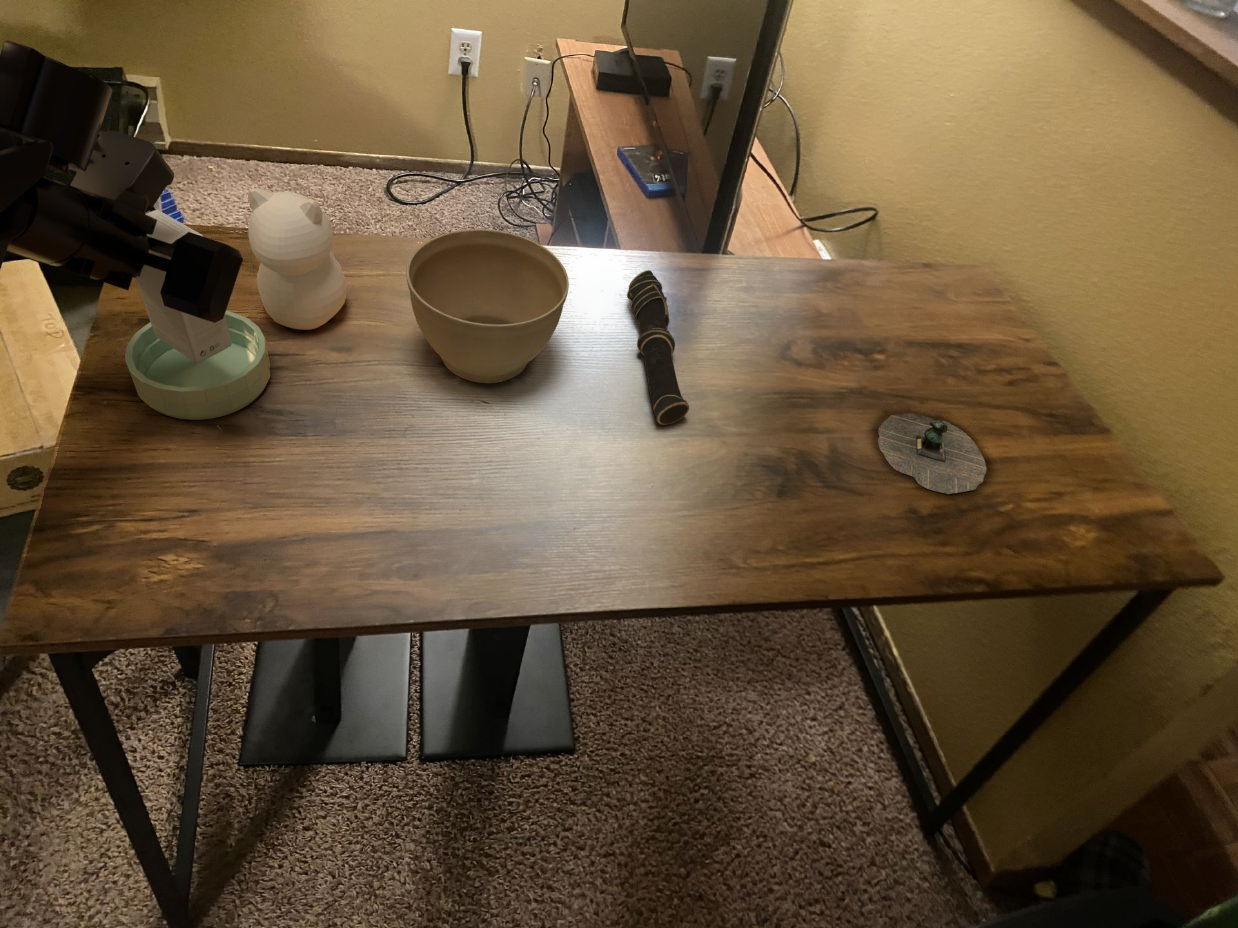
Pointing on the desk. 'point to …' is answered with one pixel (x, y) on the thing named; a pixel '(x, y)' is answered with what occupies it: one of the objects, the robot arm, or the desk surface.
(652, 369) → the banded dark tube
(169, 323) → the cosmetic box
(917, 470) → the sculpture
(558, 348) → the desk surface
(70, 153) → the robot arm
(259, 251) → the cat figurine
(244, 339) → the shallow bowl
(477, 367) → the planter bowl
